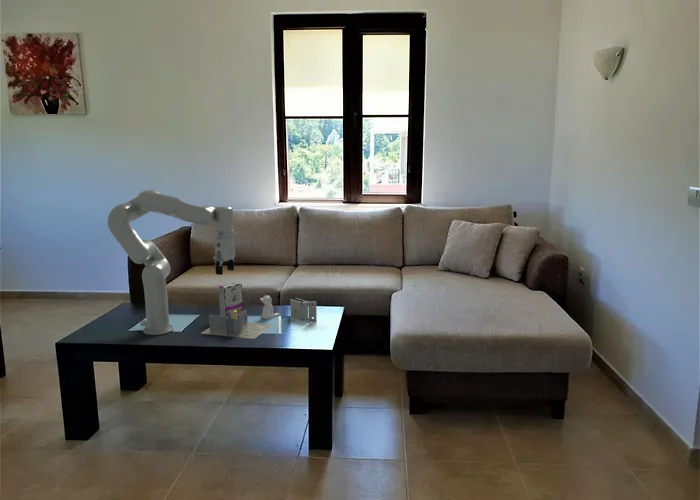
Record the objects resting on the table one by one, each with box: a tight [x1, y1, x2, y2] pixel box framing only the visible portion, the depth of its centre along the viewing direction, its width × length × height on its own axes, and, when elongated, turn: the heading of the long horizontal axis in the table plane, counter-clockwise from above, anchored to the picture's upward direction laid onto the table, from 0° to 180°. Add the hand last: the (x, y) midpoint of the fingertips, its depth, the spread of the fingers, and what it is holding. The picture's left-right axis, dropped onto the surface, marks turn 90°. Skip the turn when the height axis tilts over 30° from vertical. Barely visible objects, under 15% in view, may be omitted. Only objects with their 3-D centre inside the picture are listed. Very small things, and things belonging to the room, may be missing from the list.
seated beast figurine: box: [259, 294, 282, 320], centre depth 262 cm, size 10×9×12 cm
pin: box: [230, 310, 237, 319], centre depth 239 cm, size 3×3×10 cm
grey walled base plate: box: [200, 309, 274, 340], centre depth 244 cm, size 26×20×8 cm
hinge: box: [289, 297, 318, 324], centre depth 259 cm, size 14×5×10 cm, turn 59°
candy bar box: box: [217, 281, 244, 316], centre depth 265 cm, size 11×5×16 cm, turn 143°
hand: (224, 272), depth 243 cm, fingers open, 9 cm apart
